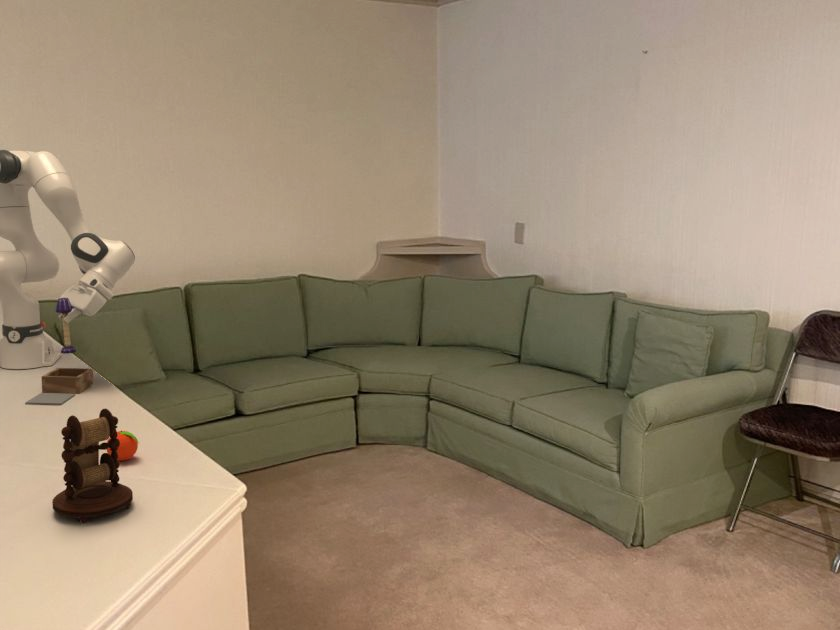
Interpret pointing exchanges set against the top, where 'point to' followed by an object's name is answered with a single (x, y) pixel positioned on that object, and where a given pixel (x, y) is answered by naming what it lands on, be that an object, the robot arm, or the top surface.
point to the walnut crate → (67, 380)
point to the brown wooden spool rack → (91, 469)
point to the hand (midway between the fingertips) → (62, 320)
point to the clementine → (125, 445)
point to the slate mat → (50, 399)
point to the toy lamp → (65, 324)
